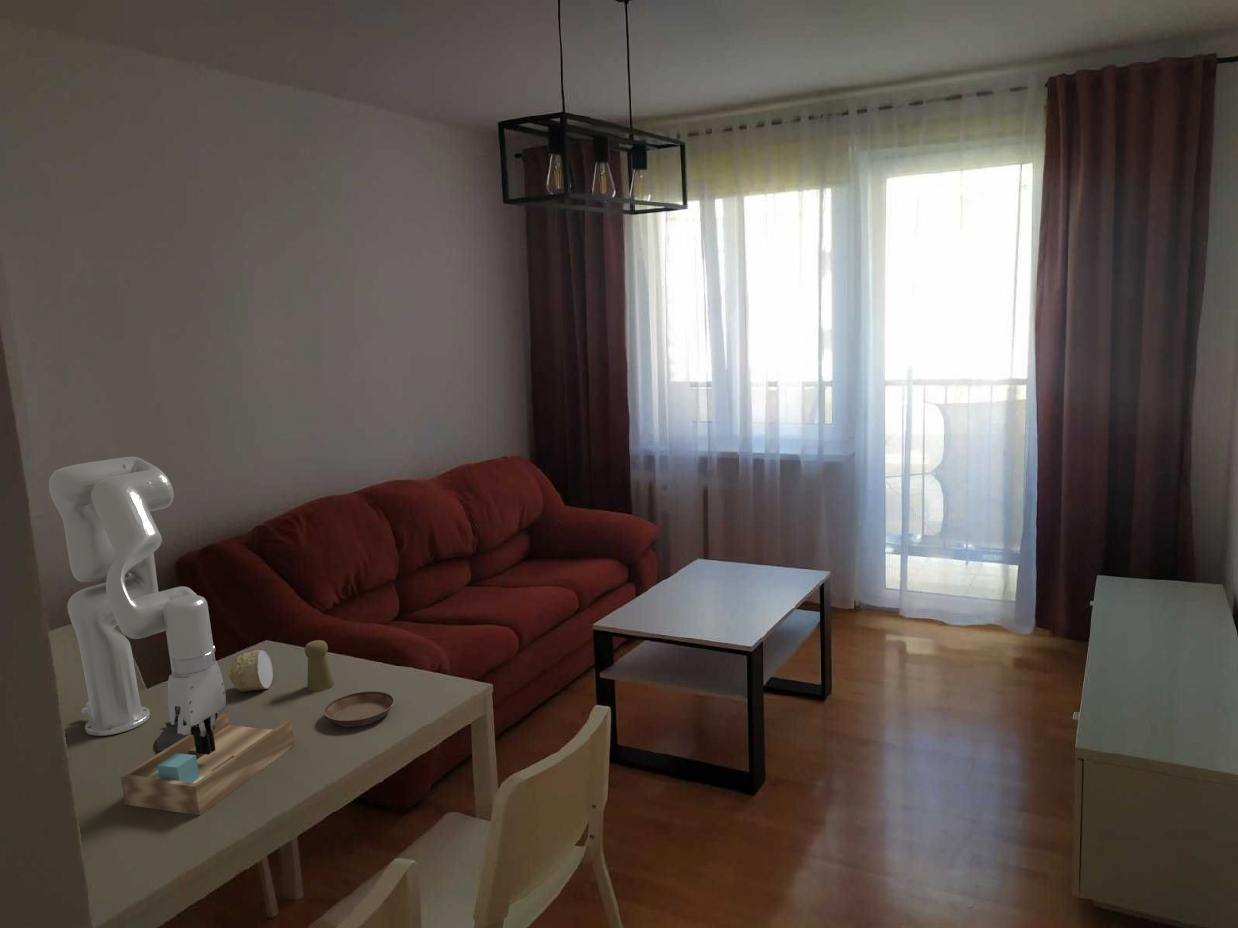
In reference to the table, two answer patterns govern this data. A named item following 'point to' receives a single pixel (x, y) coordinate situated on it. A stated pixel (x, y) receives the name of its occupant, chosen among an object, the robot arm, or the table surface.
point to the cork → (318, 666)
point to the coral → (251, 671)
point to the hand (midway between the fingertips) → (206, 751)
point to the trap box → (208, 768)
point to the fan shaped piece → (168, 737)
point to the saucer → (359, 708)
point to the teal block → (179, 768)
